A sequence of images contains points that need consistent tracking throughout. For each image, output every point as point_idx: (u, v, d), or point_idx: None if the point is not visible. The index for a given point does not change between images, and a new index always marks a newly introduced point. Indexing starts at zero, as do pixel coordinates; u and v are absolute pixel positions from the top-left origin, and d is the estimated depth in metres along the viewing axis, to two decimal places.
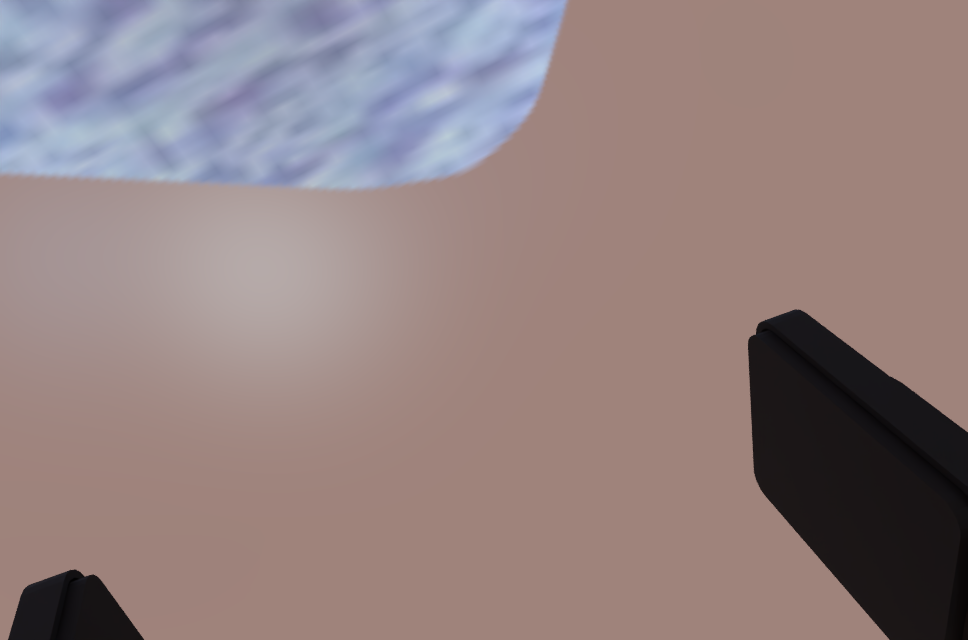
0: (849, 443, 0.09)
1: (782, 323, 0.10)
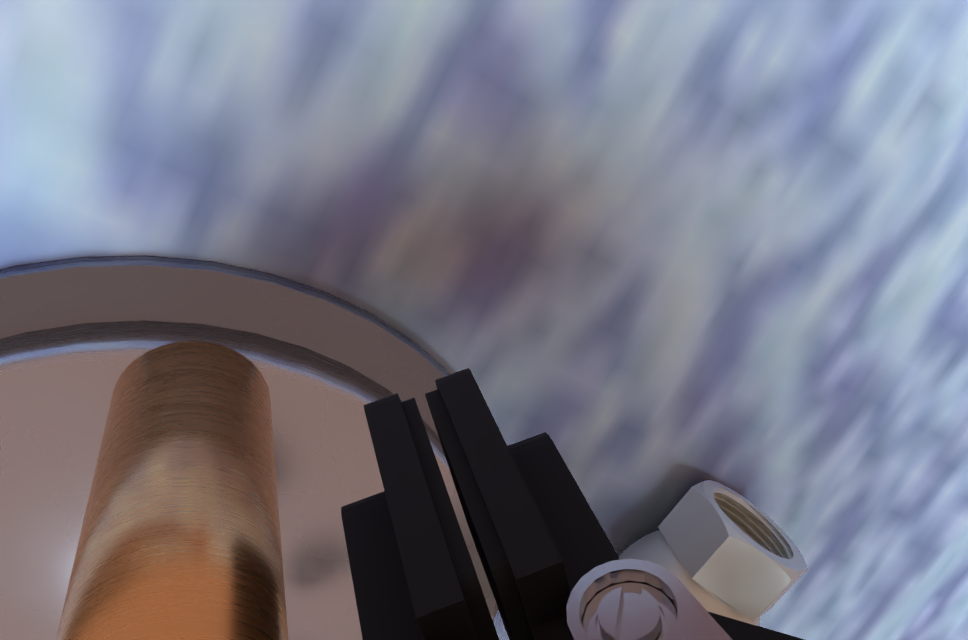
0: (465, 504, 0.10)
1: (447, 383, 0.11)
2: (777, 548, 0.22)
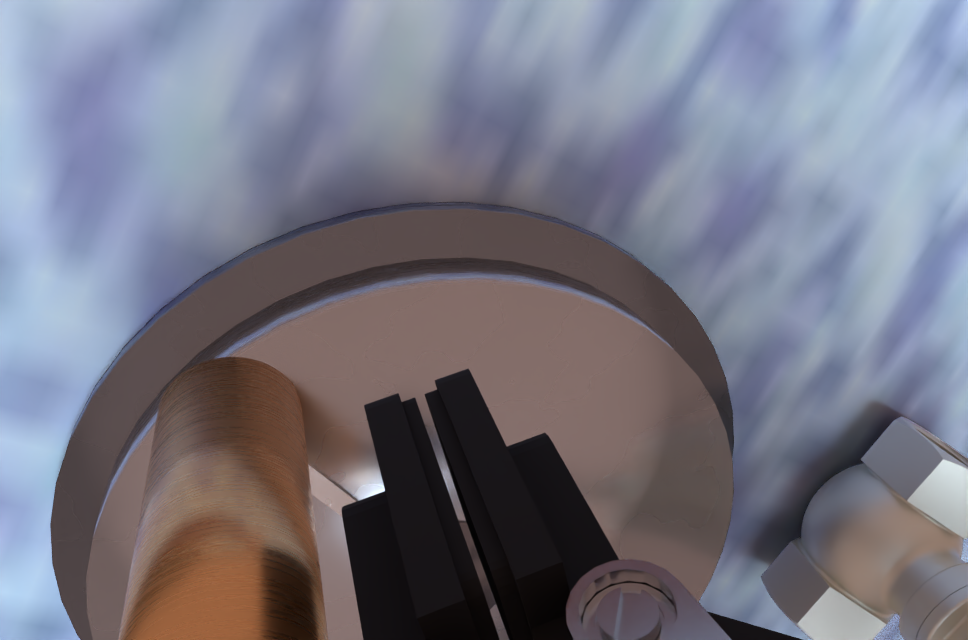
0: (465, 504, 0.10)
1: (447, 383, 0.11)
2: None
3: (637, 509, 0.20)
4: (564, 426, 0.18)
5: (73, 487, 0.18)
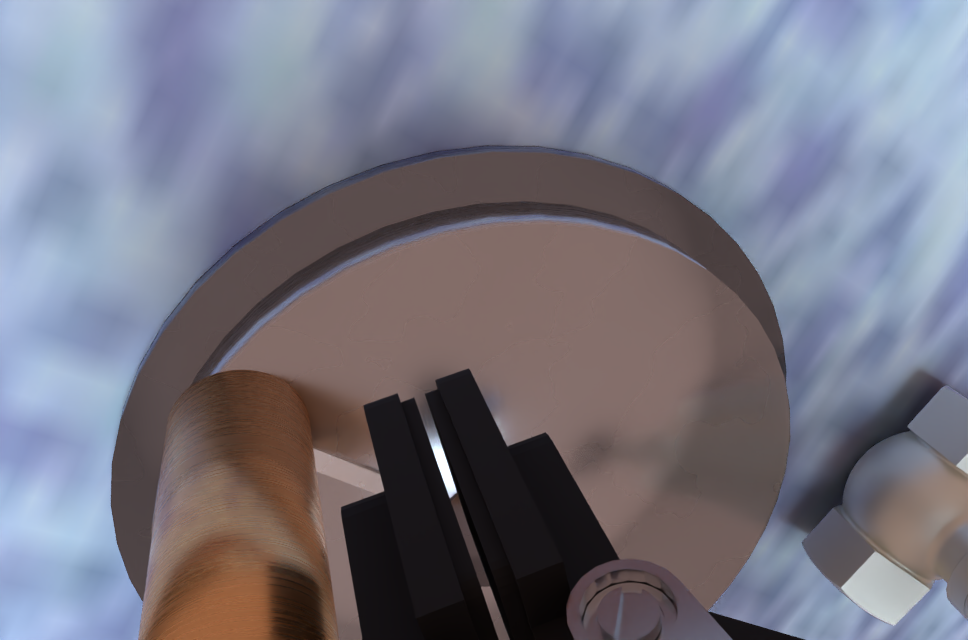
0: (465, 504, 0.10)
1: (447, 383, 0.11)
2: None
3: (684, 419, 0.19)
4: (578, 356, 0.18)
5: (137, 425, 0.17)
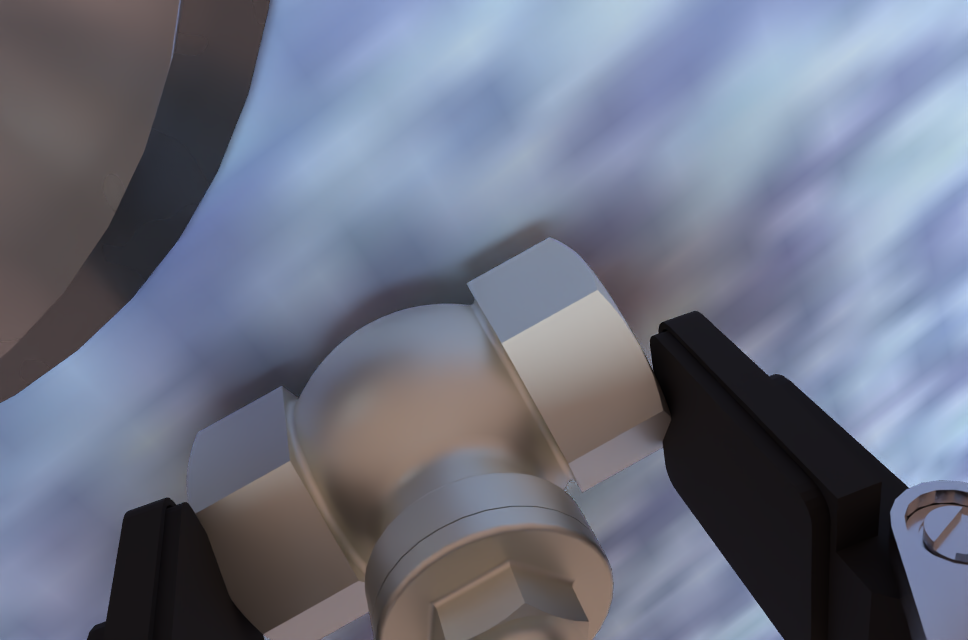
0: (728, 438, 0.10)
1: (679, 324, 0.11)
2: None
3: None
4: None
5: None
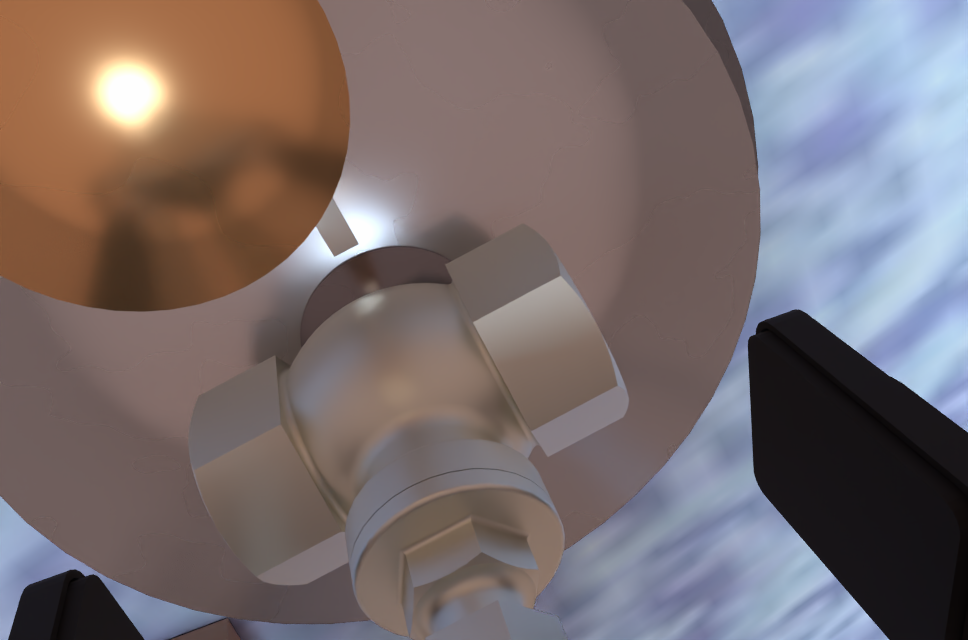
0: (849, 443, 0.09)
1: (782, 323, 0.10)
2: None
3: (639, 308, 0.17)
4: (589, 157, 0.15)
5: None
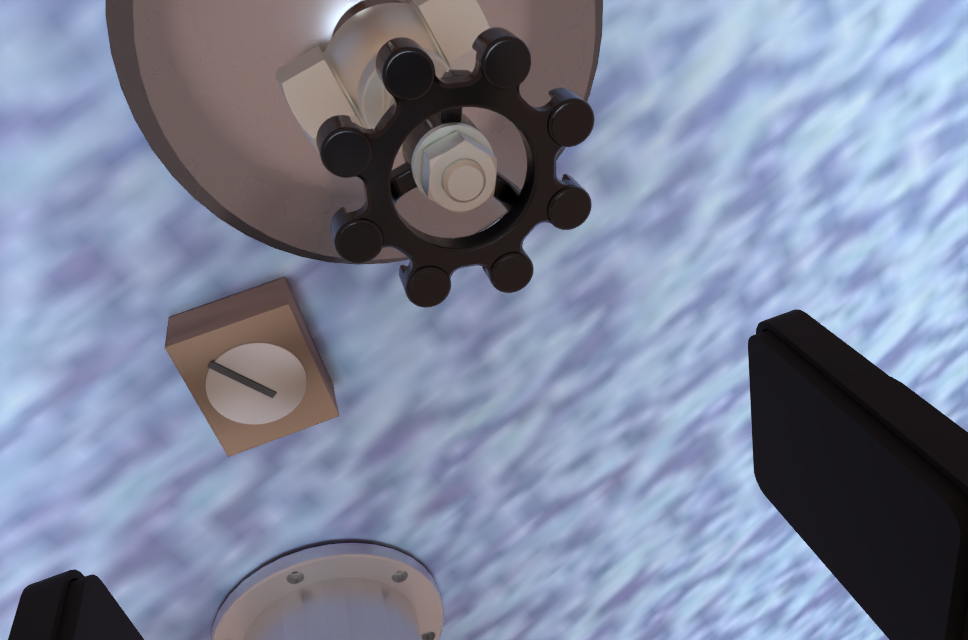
0: (849, 443, 0.09)
1: (782, 323, 0.10)
2: None
3: None
4: None
5: None
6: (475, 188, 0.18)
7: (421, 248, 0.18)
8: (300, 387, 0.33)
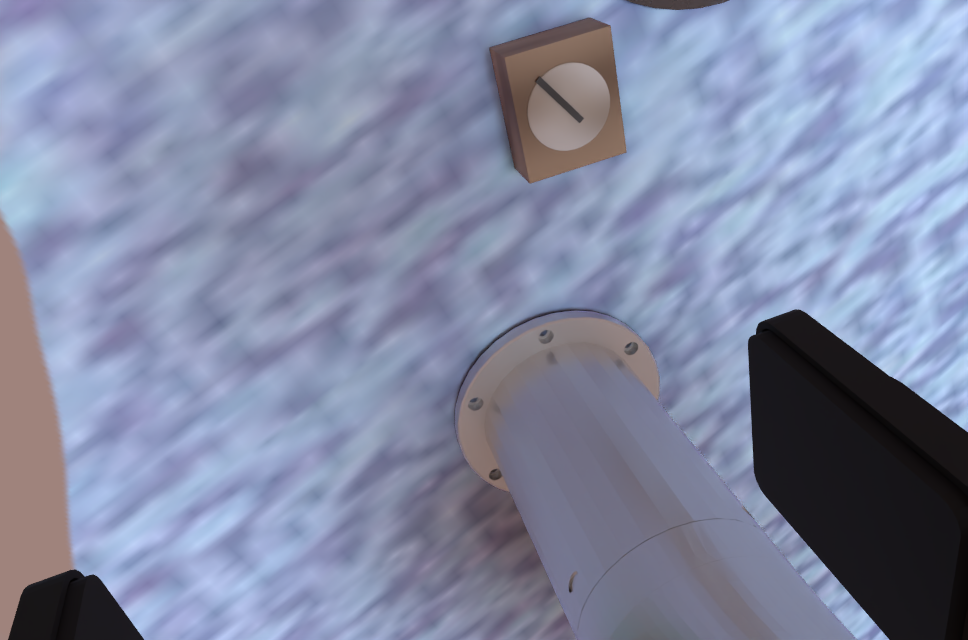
0: (849, 443, 0.09)
1: (782, 323, 0.10)
2: None
3: None
4: None
5: None
6: None
7: None
8: (602, 116, 0.37)
